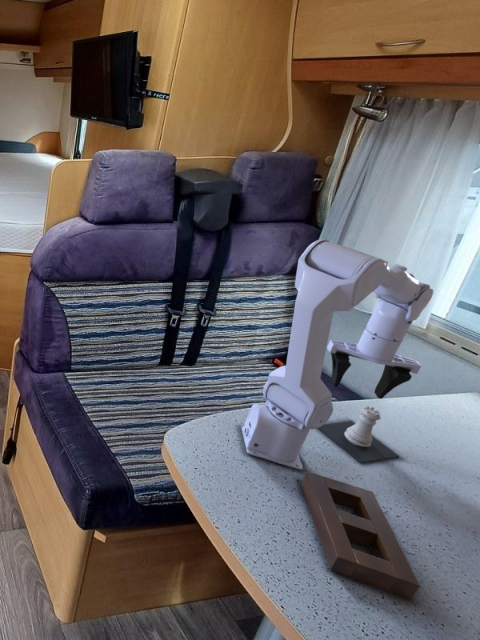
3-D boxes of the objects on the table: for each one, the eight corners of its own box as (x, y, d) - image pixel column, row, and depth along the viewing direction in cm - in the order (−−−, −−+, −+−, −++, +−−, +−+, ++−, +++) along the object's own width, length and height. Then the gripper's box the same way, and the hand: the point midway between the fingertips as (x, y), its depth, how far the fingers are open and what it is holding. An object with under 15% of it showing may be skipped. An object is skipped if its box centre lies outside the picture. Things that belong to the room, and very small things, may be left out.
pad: (360, 463, 91) (361, 462, 91) (315, 426, 100) (315, 425, 100) (398, 457, 93) (399, 456, 93) (351, 421, 102) (351, 420, 102)
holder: (330, 569, 70) (337, 556, 69) (300, 482, 85) (306, 470, 84) (411, 599, 67) (420, 586, 66) (365, 503, 82) (372, 491, 81)
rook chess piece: (375, 450, 94) (392, 419, 91) (351, 446, 95) (367, 415, 91) (361, 434, 98) (377, 404, 95) (338, 430, 99) (353, 401, 96)
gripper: (420, 334, 92) (390, 389, 97) (334, 315, 96) (310, 368, 102) (437, 352, 86) (404, 410, 91) (344, 330, 90) (318, 387, 96)
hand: (355, 389), depth 96 cm, fingers open, 7 cm apart
